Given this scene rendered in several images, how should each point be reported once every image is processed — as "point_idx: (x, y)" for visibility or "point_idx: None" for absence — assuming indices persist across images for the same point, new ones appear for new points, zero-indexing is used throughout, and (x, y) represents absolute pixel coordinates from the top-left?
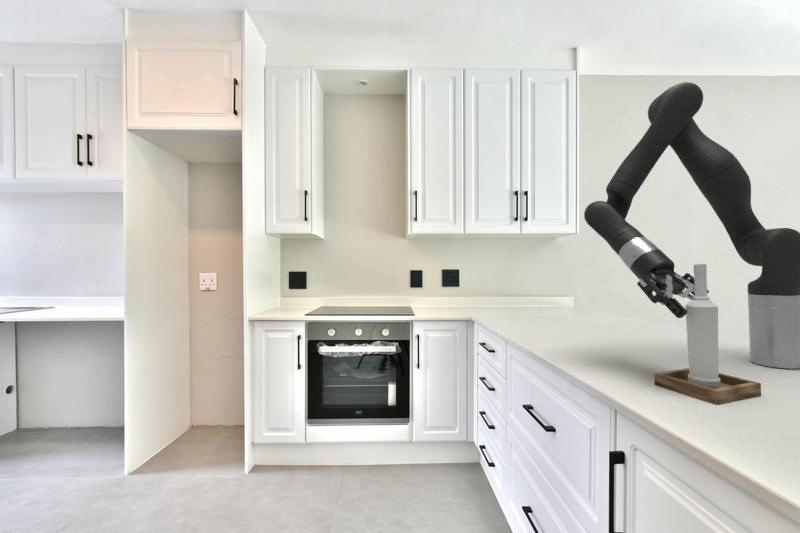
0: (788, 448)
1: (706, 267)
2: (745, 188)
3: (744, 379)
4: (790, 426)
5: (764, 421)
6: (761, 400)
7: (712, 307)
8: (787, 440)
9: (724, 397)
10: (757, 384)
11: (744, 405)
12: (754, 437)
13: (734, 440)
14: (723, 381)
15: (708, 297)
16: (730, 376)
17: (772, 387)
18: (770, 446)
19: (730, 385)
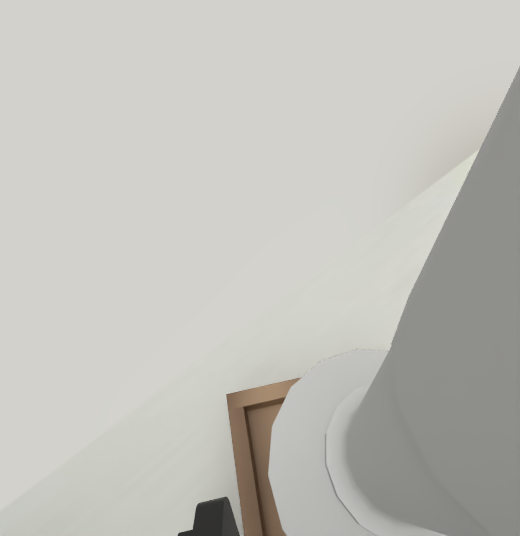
0: (415, 203)
1: (477, 169)
2: None
3: (234, 434)
4: (340, 258)
5: (366, 279)
6: (264, 373)
7: (370, 352)
8: (394, 221)
9: None
10: (240, 391)
11: (332, 352)
12: (438, 231)
13: None
14: (258, 491)
15: (358, 394)
16: (244, 474)
17: (136, 455)
18: (437, 208)
19: (260, 464)
